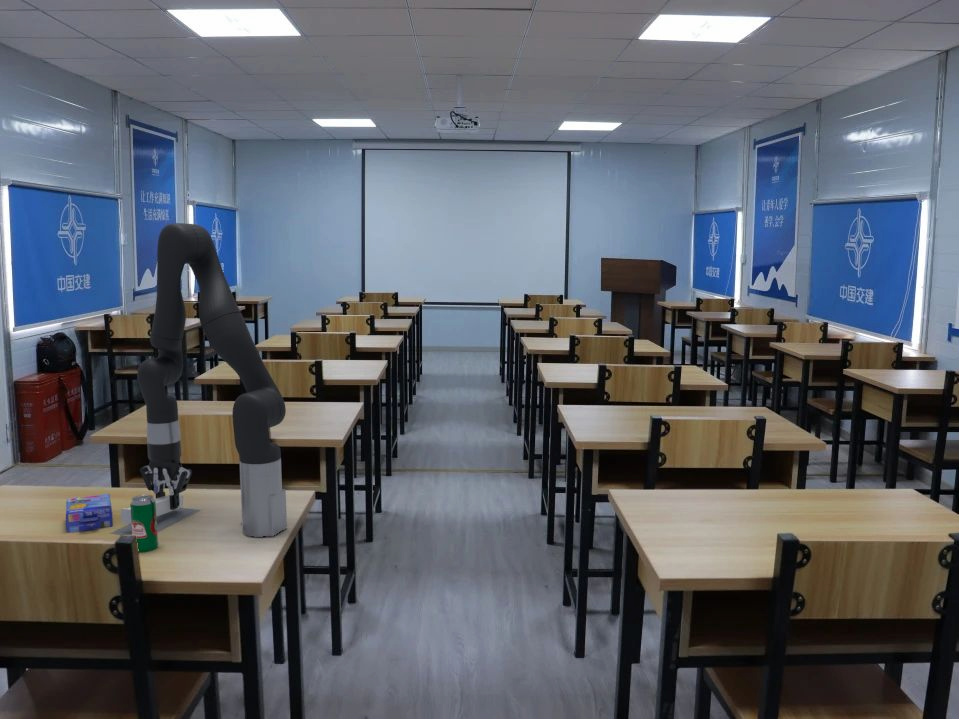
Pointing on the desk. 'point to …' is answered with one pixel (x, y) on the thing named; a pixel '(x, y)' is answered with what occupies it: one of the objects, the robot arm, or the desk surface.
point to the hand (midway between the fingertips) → (167, 507)
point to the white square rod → (161, 508)
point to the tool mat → (162, 520)
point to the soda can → (144, 522)
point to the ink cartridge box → (88, 513)
